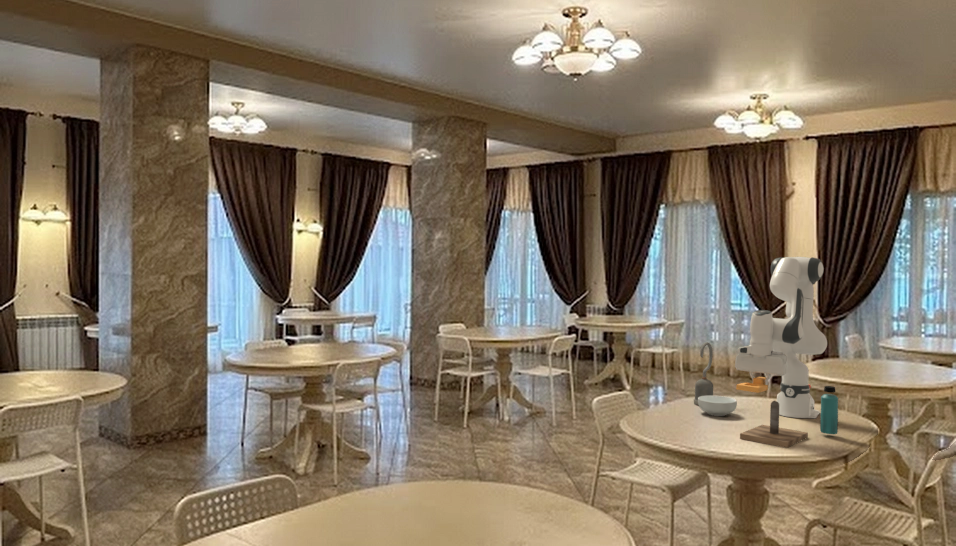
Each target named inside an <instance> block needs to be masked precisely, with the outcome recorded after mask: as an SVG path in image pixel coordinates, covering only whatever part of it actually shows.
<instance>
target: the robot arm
mask: <svg viewBox="0 0 956 546" xmlns="http://www.w3.org/2000/svg"><path fill="white" fill-rule="evenodd" d="M824 269H825V268H824V264H823V261H822V260H821V259H820V258H817V257H806V256H786V257H783V256H782V257H776V258H774V259H773V260H772V262H771V265H770V274H771V277H770V282H769V290H770V292H771V293H772V294H773V295H774V296H775V297H776V298H778V299H779V300H782V301H784V302H786V305H785V315H786V317H787V318H780V317H779V318H778V317H777V318H776V317H773V312H772V311H770V310H769V309H767V310H765V309H759V310H754V311H753V312H752V313H751V317H750V318H751V319H750V325H749V327H750V328H749V333H750V339H749V344H748V345H744V346H740V347H738V348H737V354H736V356H735V361H734V362H735V363H734V367H735V369H736V371H741V372H743V371H744V372H748V373H749V375H750V378H751V380H752V381H751V383H753V378H756V376H755V375H756V373H758V374H764V375H765V378H766V379H765V380H763V384H764V385H768V386H769V380H770V379H771V377H772V375H774V376H781V382H780V386H779V387H780V388H779V389H780V392H778V393H777V396H776V401H777V402H778V403H779V416H783V417H786V418H795V419H796V418H798V419H817V417H818V416H819V415H820V414H821V410H818V409H815V400H814V398H813V396H812V395H811V393H810V392H811V391H810V389H811V388H812V386H811V384H809V376H810V375H809V373H810V372H809V370H810V369H809V367H808V365H806V363H804V362H802V361H801V360H800V359H798V356H797V354H798V355H799V354H800V355H807V356H809V355H810V356H811V355H812V356H813V355H815V356H816V355H822V354H823V353H824V352H825V350H826V349H827V346H828V340H827V336H826V335H825V334H824V333H823V332H822V331H821V330H820V329H819V328H818V327H817V325H816V324H815V320H814V316H813V314H814V309H813V308H814V297H815V296H814V292H815V291H814V285H815V284H816V282H818V281H819V280H821V278H822V277H823V274H824Z"/></svg>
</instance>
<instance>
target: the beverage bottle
mask: <svg viewBox="0 0 956 546" xmlns="http://www.w3.org/2000/svg"><path fill="white" fill-rule="evenodd" d="M823 391H824V392H825V393H824V394H822V395H821V396H820V414H819V415H820V416H819V418H820V420H819V428H820V430H819V431H820V432H821V433H822V434H827V435H837V434H838V432H839V397H838V396H837V395H835V394H833V393H836V387H835V386H832V385H825V386H824V387H823Z"/></svg>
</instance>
